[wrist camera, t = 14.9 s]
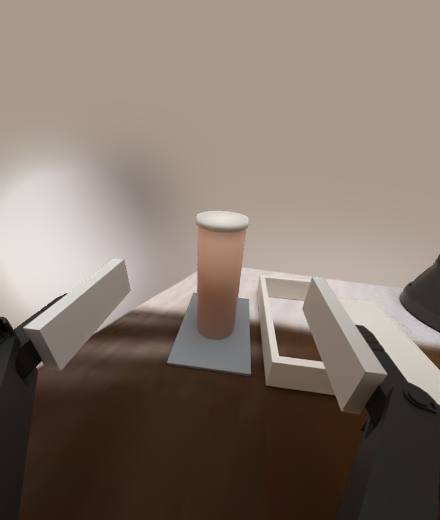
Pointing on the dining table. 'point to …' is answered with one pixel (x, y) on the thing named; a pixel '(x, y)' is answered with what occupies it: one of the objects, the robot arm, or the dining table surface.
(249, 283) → the dining table surface
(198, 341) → the felt mat
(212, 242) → the tube
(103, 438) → the dining table surface
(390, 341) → the white holder tray
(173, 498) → the dining table surface
